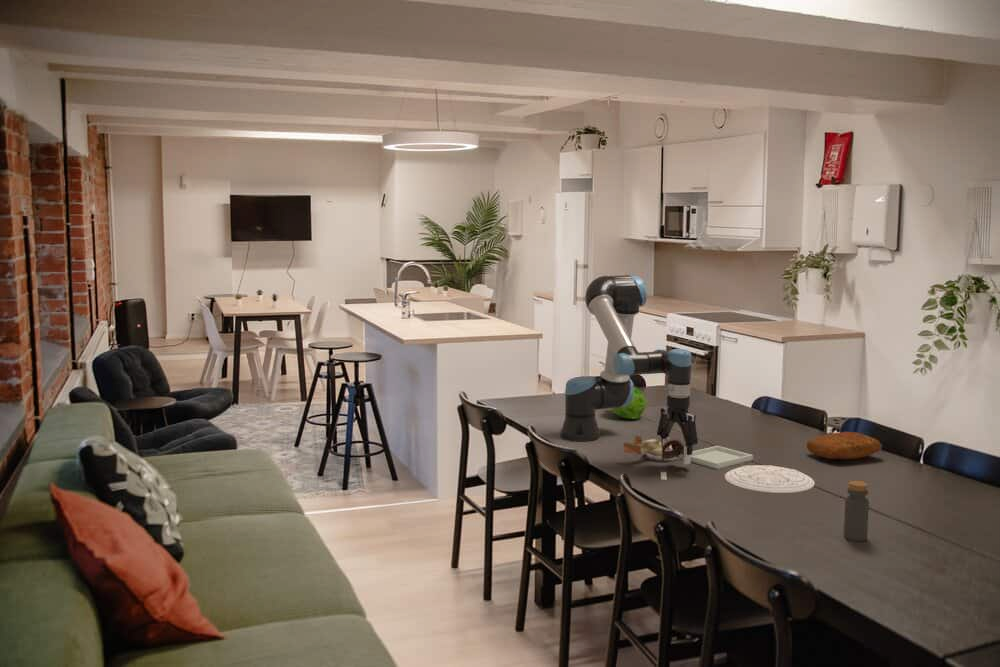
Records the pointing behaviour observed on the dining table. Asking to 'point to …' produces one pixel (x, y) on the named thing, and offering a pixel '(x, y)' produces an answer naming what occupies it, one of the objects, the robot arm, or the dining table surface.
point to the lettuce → (632, 406)
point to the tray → (719, 457)
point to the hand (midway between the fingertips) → (676, 460)
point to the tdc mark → (663, 476)
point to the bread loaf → (844, 445)
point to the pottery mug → (676, 447)
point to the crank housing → (658, 457)
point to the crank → (644, 446)
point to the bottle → (856, 512)
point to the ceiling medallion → (769, 479)
